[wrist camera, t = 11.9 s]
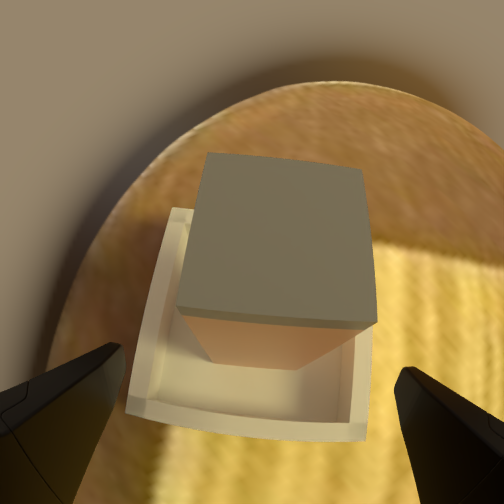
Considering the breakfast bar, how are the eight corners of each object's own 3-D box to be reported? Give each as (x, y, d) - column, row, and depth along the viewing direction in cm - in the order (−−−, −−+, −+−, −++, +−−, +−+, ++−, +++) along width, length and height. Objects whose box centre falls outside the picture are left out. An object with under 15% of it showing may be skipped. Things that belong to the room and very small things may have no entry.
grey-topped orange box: (296, 370, 17) (377, 321, 7) (213, 363, 17) (175, 305, 7) (299, 293, 19) (361, 169, 9) (222, 286, 19) (207, 152, 9)
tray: (346, 436, 15) (365, 441, 13) (142, 411, 16) (124, 413, 13) (354, 254, 21) (369, 232, 18) (180, 232, 21) (172, 207, 18)
